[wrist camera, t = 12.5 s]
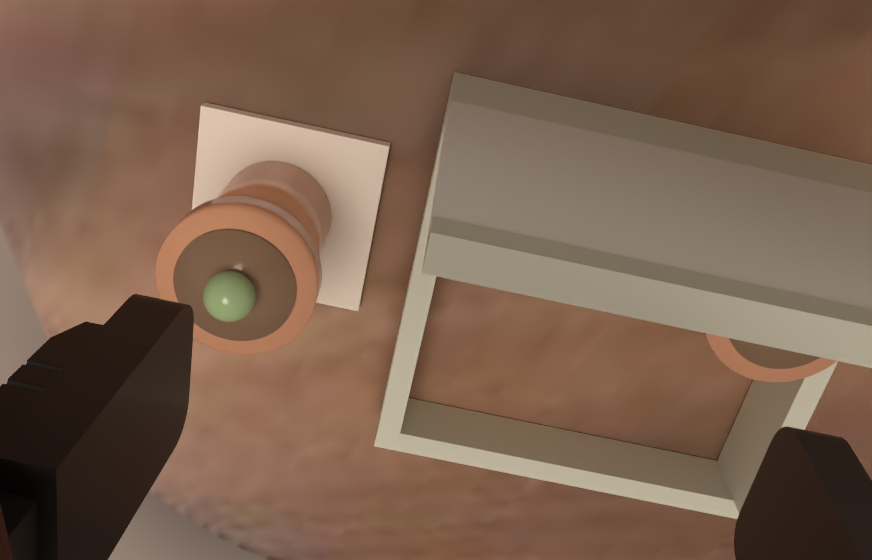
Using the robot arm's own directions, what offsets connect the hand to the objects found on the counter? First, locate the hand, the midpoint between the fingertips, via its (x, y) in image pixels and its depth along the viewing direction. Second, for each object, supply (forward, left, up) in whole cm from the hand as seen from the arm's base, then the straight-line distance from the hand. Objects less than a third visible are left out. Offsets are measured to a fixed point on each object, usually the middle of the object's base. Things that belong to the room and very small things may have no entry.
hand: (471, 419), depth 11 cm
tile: (+7, +8, -25) cm, 27 cm away
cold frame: (-8, +9, -25) cm, 28 cm away
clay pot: (+7, +8, -24) cm, 27 cm away
